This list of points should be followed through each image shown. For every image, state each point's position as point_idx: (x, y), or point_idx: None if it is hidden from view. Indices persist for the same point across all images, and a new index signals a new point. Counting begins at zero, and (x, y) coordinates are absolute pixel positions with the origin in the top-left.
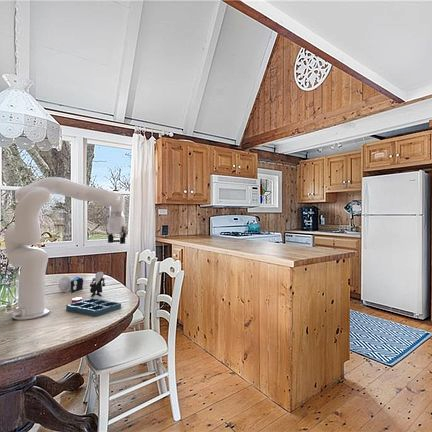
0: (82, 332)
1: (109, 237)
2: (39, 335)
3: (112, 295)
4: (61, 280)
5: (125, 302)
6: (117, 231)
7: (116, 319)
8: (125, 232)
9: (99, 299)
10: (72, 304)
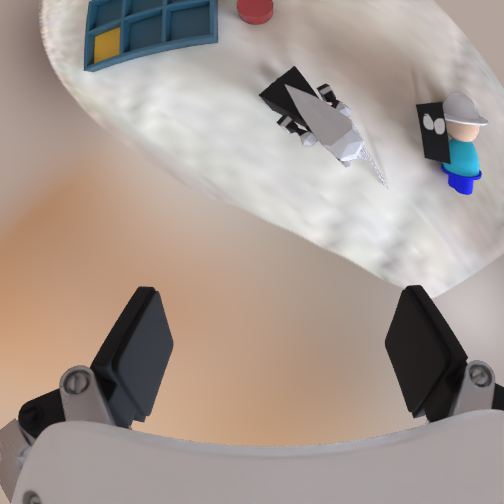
0: None
1: (436, 352)
2: None
3: (252, 140)
4: (482, 118)
5: (129, 110)
6: (54, 466)
7: (48, 36)
8: (13, 427)
9: (174, 41)
10: None
